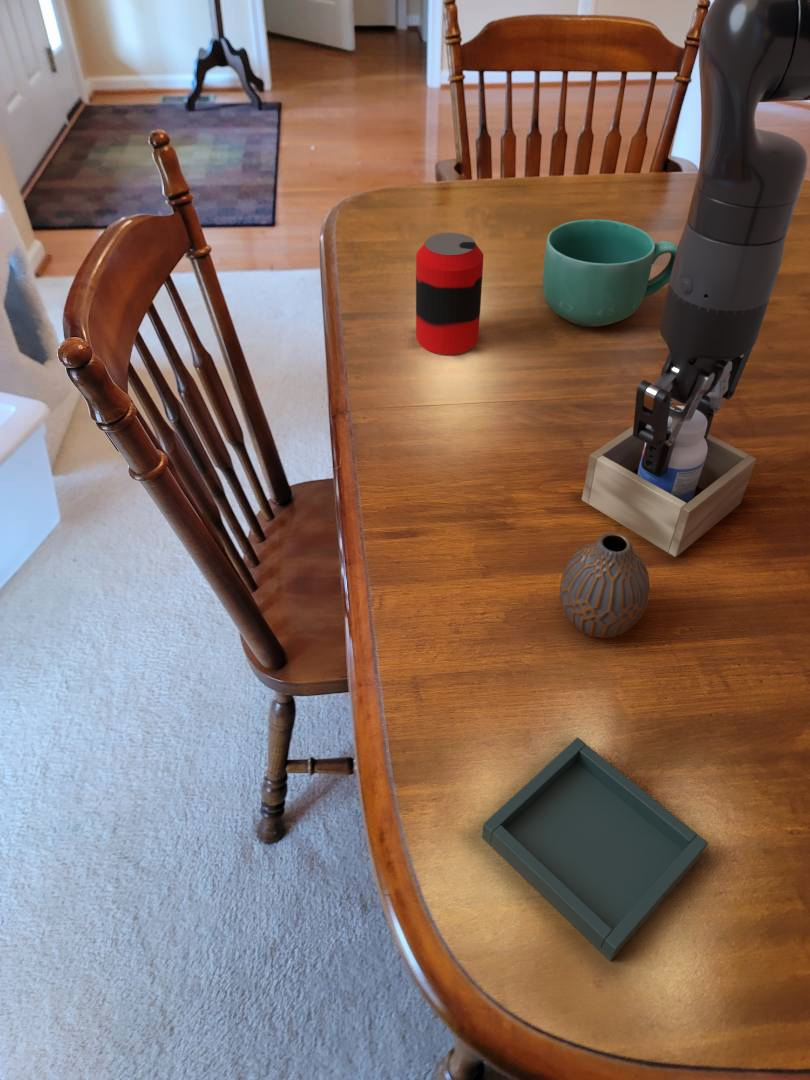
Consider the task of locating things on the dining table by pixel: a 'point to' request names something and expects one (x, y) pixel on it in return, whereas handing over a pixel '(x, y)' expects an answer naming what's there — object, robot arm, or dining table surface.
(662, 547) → the crate
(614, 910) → the tray
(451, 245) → the soda can
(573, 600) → the vase
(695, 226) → the robot arm
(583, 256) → the mug
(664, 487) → the pill bottle
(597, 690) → the dining table surface
